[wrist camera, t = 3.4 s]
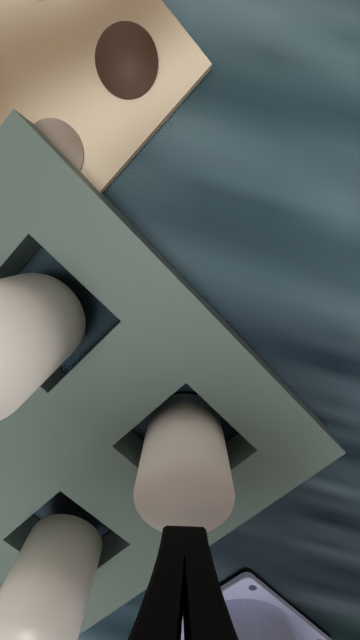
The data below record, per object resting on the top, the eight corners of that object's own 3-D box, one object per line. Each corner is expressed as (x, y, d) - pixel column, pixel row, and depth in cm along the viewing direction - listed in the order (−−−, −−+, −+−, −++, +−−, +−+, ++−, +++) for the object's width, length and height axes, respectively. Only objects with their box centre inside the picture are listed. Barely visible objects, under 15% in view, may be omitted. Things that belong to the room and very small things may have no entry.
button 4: (104, 320, 12) (60, 366, 8) (46, 379, 13) (-23, 448, 9) (30, 251, 12) (-62, 260, 7) (-27, 318, 12) (-140, 361, 8)
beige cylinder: (236, 427, 16) (256, 500, 11) (183, 468, 16) (182, 551, 12) (185, 379, 15) (185, 436, 11) (132, 424, 16) (112, 495, 11)
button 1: (117, 544, 16) (91, 659, 12) (70, 578, 17) (30, 698, 12) (61, 501, 15) (10, 607, 11) (15, 540, 16) (-49, 653, 12)
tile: (211, 69, 11) (212, 60, 11) (66, 234, 13) (61, 234, 13) (32, -157, 10) (22, -182, 9) (-105, 67, 12) (-120, 58, 11)
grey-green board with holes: (326, 426, 16) (346, 453, 14) (88, 597, 20) (77, 635, 18) (40, 129, 12) (13, 108, 10) (-179, 412, 16) (-229, 436, 14)
